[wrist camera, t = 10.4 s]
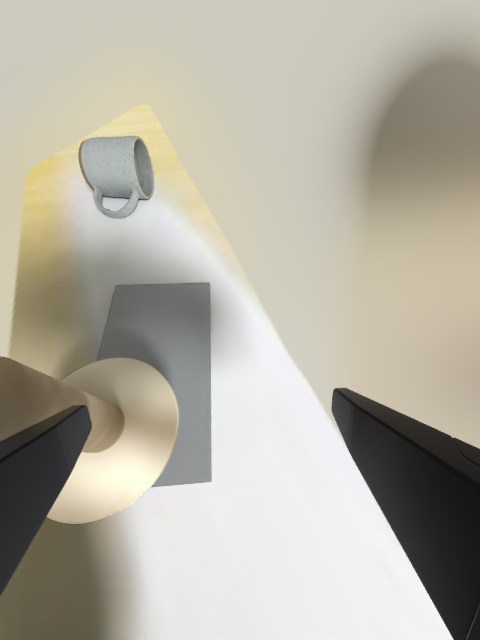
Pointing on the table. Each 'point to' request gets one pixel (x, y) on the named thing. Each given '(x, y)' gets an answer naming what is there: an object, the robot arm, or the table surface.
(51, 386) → the birch lid
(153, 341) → the slate mat
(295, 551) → the table surface
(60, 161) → the table surface
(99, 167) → the ceramic mug
